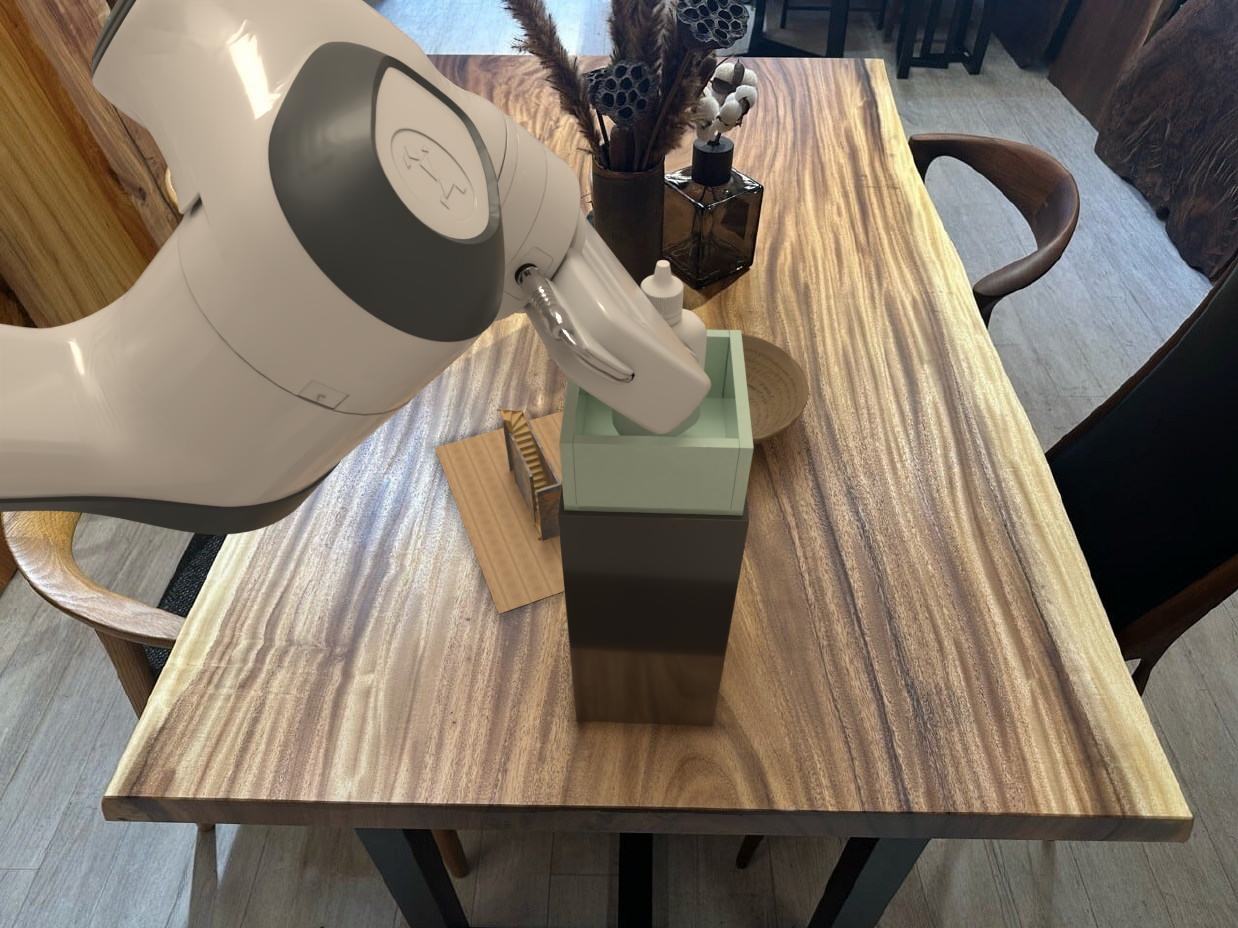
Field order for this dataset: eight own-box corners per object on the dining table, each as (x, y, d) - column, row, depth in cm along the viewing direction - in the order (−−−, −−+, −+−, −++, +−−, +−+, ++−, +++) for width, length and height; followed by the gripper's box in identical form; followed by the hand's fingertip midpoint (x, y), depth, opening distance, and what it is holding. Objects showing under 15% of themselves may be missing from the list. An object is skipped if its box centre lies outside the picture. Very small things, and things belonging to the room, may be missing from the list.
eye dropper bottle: (616, 399, 54) (615, 240, 46) (699, 404, 54) (714, 244, 45) (610, 445, 51) (608, 283, 43) (698, 450, 51) (714, 288, 42)
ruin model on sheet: (434, 447, 94) (419, 384, 87) (565, 410, 99) (561, 346, 92) (498, 614, 78) (486, 552, 71) (651, 560, 83) (654, 497, 76)
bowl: (823, 473, 91) (836, 422, 85) (665, 499, 89) (668, 447, 83) (768, 371, 104) (777, 320, 98) (629, 391, 101) (629, 339, 95)
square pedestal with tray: (576, 721, 71) (551, 447, 46) (585, 606, 79) (568, 322, 54) (713, 726, 70) (761, 453, 46) (708, 610, 79) (746, 326, 54)
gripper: (617, 286, 31) (798, 411, 40) (473, 91, 44) (636, 220, 53) (516, 404, 33) (711, 496, 42) (407, 184, 46) (575, 292, 55)
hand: (668, 340), depth 48 cm, fingers closed on eye dropper bottle, 3 cm apart
